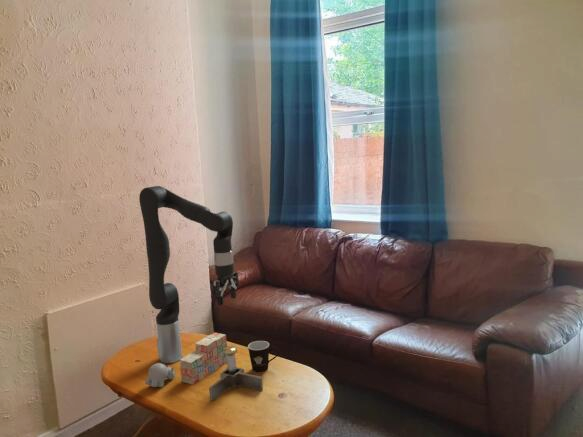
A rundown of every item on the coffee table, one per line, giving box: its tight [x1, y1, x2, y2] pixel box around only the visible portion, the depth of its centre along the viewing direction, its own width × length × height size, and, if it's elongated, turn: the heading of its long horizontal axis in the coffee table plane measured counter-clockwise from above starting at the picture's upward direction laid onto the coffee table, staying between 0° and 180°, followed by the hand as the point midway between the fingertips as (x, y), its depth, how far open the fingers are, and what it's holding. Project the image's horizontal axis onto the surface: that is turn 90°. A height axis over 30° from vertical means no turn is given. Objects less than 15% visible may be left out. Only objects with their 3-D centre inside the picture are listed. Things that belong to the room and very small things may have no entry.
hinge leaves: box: [208, 366, 264, 402], centre depth 166 cm, size 16×16×5 cm
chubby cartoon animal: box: [144, 362, 177, 388], centre depth 176 cm, size 7×12×8 cm, turn 139°
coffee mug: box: [247, 340, 280, 373], centre depth 182 cm, size 12×9×10 cm
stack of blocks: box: [179, 332, 228, 385], centre depth 183 cm, size 21×6×12 cm, turn 149°
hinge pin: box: [223, 345, 238, 375], centre depth 172 cm, size 5×5×14 cm
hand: (227, 301), depth 182 cm, fingers open, 8 cm apart
